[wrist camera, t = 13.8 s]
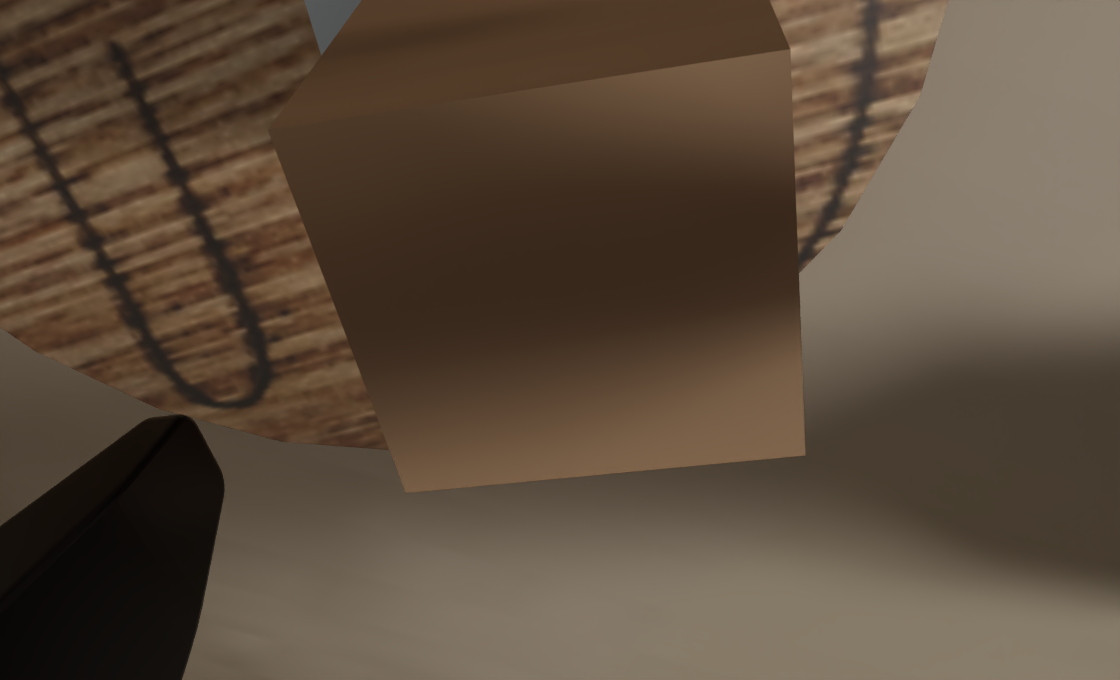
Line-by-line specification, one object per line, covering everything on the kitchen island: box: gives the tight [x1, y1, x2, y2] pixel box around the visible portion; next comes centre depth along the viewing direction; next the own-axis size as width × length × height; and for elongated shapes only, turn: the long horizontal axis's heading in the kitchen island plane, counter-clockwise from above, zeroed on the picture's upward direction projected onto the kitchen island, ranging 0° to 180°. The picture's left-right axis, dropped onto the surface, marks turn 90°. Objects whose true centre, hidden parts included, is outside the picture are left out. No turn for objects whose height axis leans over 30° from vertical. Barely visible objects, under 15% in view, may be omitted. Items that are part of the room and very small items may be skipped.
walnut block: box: [268, 0, 805, 493], centre depth 12 cm, size 5×5×5 cm
